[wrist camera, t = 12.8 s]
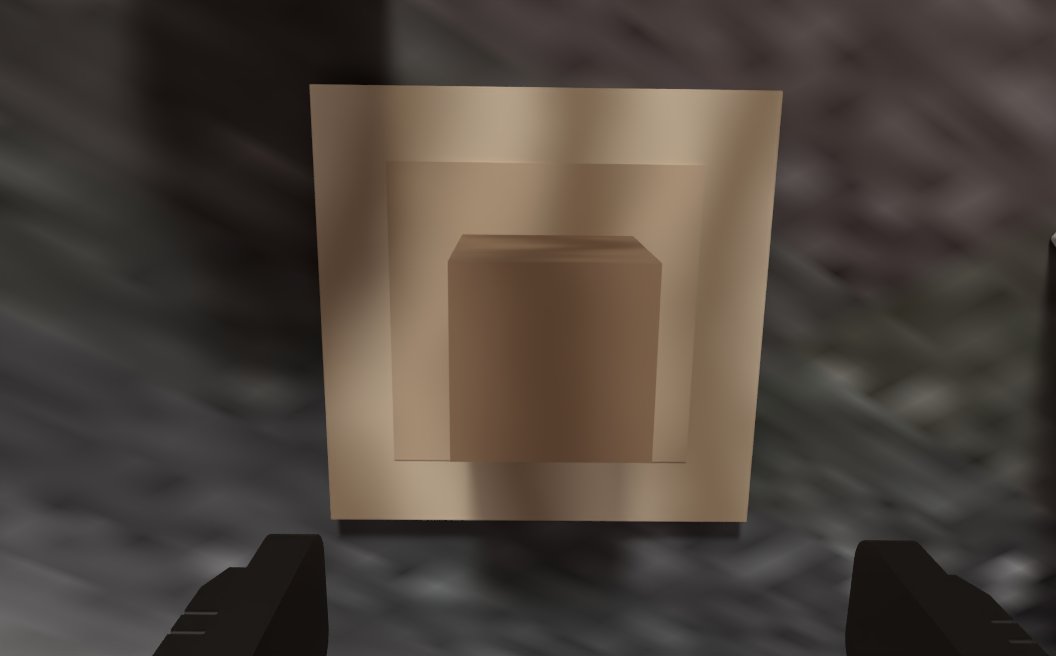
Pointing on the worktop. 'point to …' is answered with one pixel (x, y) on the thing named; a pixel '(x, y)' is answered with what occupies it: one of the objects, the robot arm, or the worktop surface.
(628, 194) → the birch board
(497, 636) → the worktop surface
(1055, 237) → the skincare box
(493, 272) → the walnut cube
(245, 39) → the worktop surface
